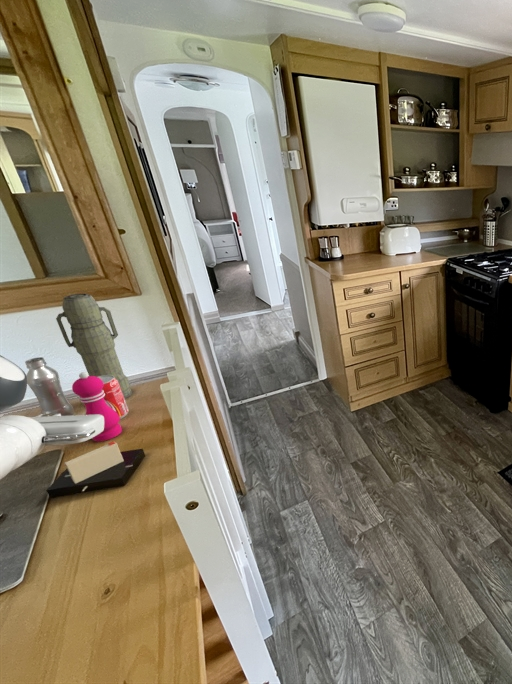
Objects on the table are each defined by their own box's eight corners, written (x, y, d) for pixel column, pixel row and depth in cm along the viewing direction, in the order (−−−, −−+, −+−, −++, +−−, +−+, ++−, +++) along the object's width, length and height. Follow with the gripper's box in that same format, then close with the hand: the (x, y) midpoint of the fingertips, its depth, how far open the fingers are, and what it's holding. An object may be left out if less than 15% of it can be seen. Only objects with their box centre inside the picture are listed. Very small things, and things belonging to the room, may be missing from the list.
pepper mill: (89, 434, 107) (62, 372, 99) (122, 424, 112) (99, 363, 104) (91, 446, 102) (64, 382, 95) (126, 434, 107) (102, 372, 100)
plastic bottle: (40, 428, 109) (10, 367, 101) (53, 416, 114) (25, 357, 107) (70, 423, 111) (43, 363, 104) (80, 411, 117) (55, 353, 109)
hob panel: (42, 507, 83) (37, 498, 82) (79, 466, 95) (75, 457, 94) (122, 493, 87) (118, 484, 86) (148, 455, 99) (145, 447, 98)
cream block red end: (75, 483, 86) (66, 464, 84) (73, 481, 87) (63, 461, 85) (123, 461, 94) (116, 442, 92) (121, 459, 94) (114, 440, 92)
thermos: (141, 393, 127) (107, 294, 114) (95, 408, 118) (52, 303, 105) (132, 385, 132) (98, 289, 119) (87, 399, 123) (45, 297, 110)
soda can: (125, 408, 119) (112, 371, 114) (133, 416, 115) (119, 378, 111) (95, 418, 114) (80, 380, 109) (102, 427, 110) (86, 388, 105)
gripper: (87, 421, 69) (117, 400, 81) (-84, 429, 60) (-21, 404, 72) (87, 454, 70) (117, 428, 82) (-83, 467, 61) (-20, 436, 73)
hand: (51, 417), depth 77 cm, fingers closed
